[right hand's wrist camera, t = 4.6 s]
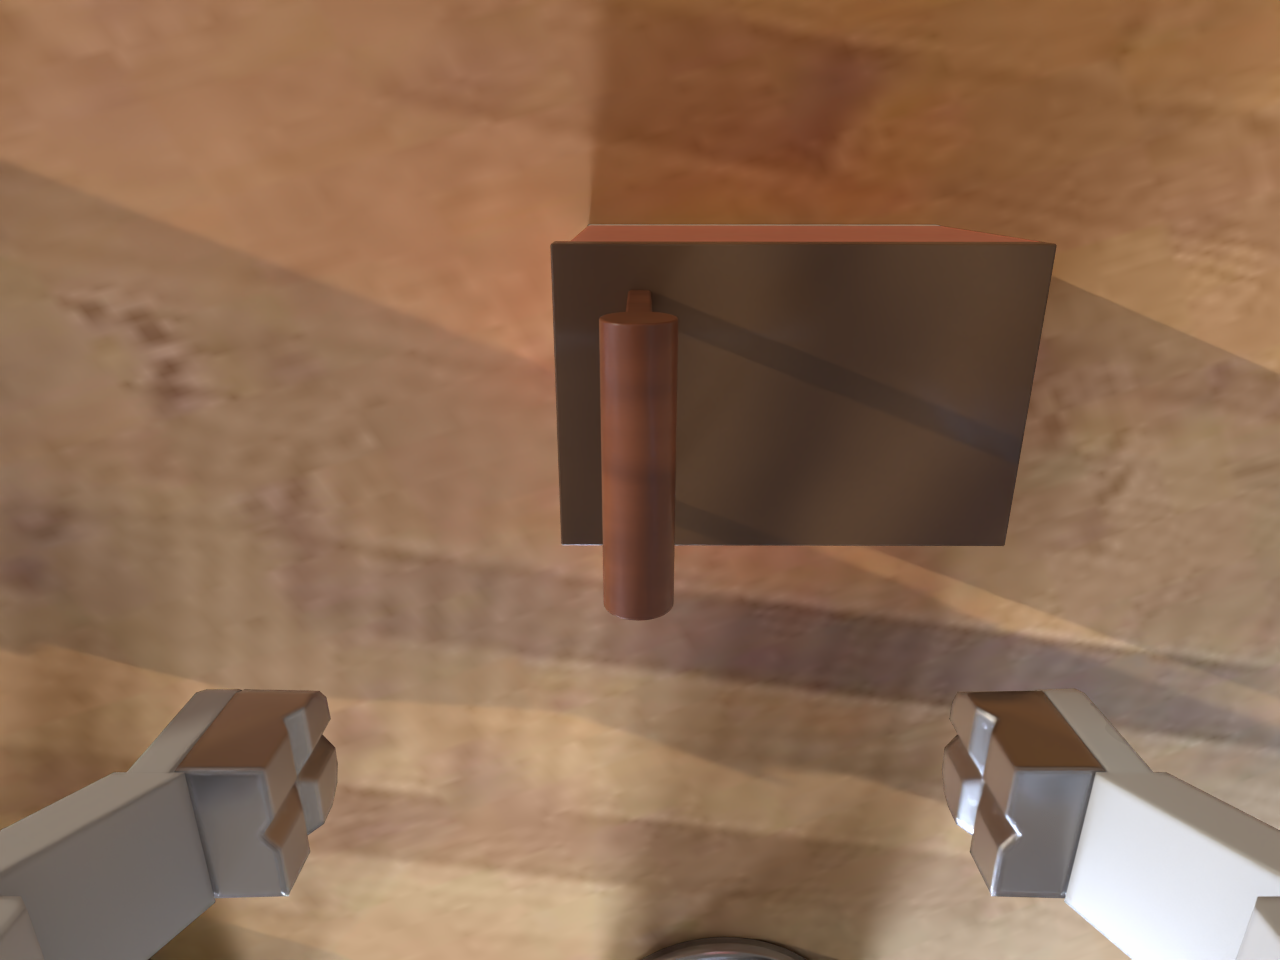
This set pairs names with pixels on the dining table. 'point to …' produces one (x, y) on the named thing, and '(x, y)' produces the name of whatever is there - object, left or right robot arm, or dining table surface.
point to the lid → (788, 396)
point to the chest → (785, 233)
